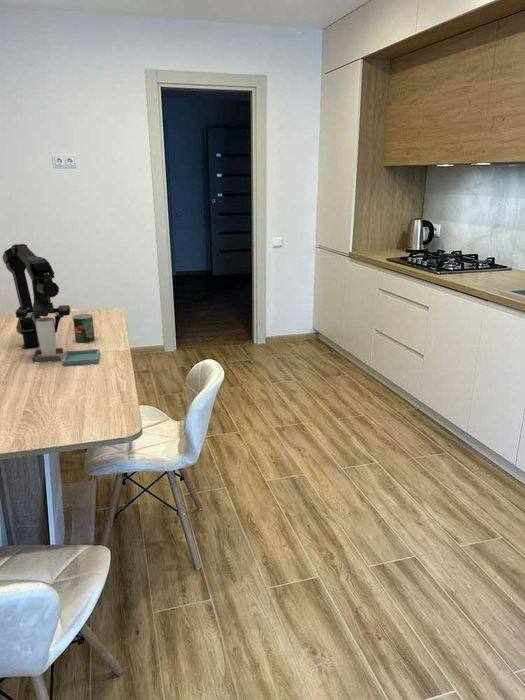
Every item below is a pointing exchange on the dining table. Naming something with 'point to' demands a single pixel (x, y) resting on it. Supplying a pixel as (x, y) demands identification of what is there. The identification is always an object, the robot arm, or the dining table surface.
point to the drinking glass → (46, 335)
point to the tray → (81, 357)
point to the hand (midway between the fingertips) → (46, 333)
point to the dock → (46, 358)
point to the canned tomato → (83, 328)
